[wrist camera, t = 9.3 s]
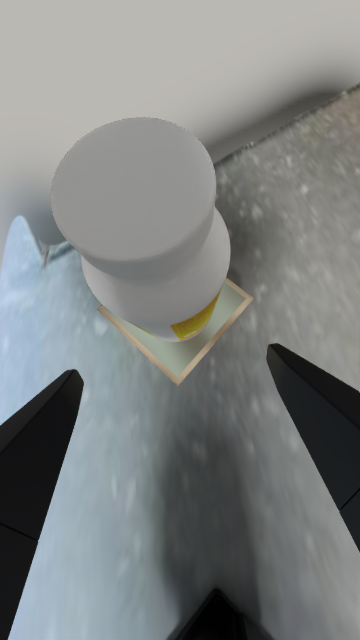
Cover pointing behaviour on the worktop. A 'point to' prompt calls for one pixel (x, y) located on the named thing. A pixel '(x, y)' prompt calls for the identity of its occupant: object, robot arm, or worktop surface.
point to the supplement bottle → (145, 224)
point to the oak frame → (186, 354)
